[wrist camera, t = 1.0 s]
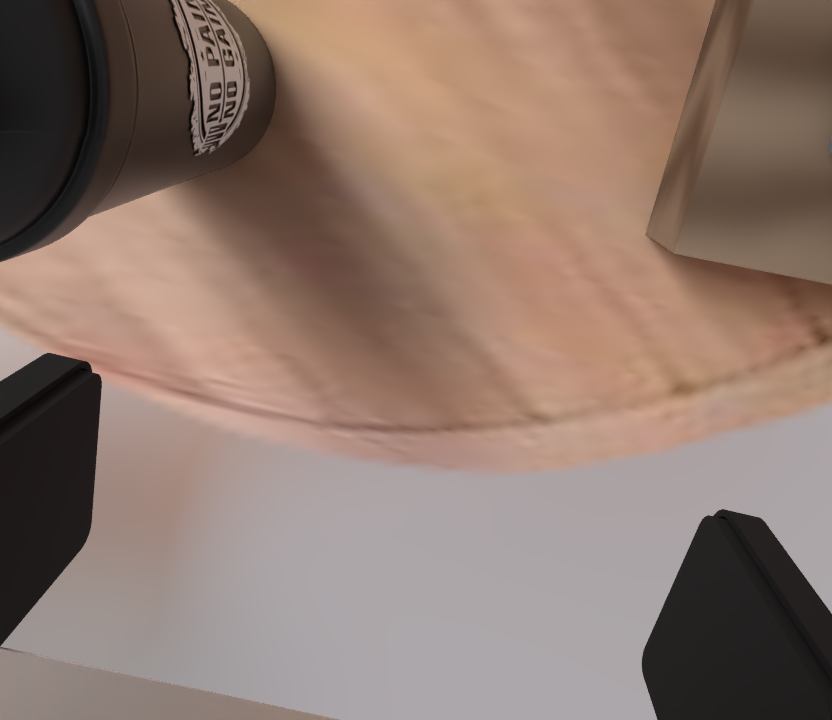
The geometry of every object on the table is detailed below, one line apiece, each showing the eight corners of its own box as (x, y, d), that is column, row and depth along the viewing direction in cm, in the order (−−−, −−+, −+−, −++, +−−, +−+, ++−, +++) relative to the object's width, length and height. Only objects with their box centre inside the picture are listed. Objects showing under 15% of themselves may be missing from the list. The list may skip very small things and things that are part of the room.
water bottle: (309, 174, 36) (89, 278, 15) (120, 197, 37) (-349, 327, 15) (271, -49, 33) (-88, -343, 11) (65, -17, 34) (-634, -231, 12)
